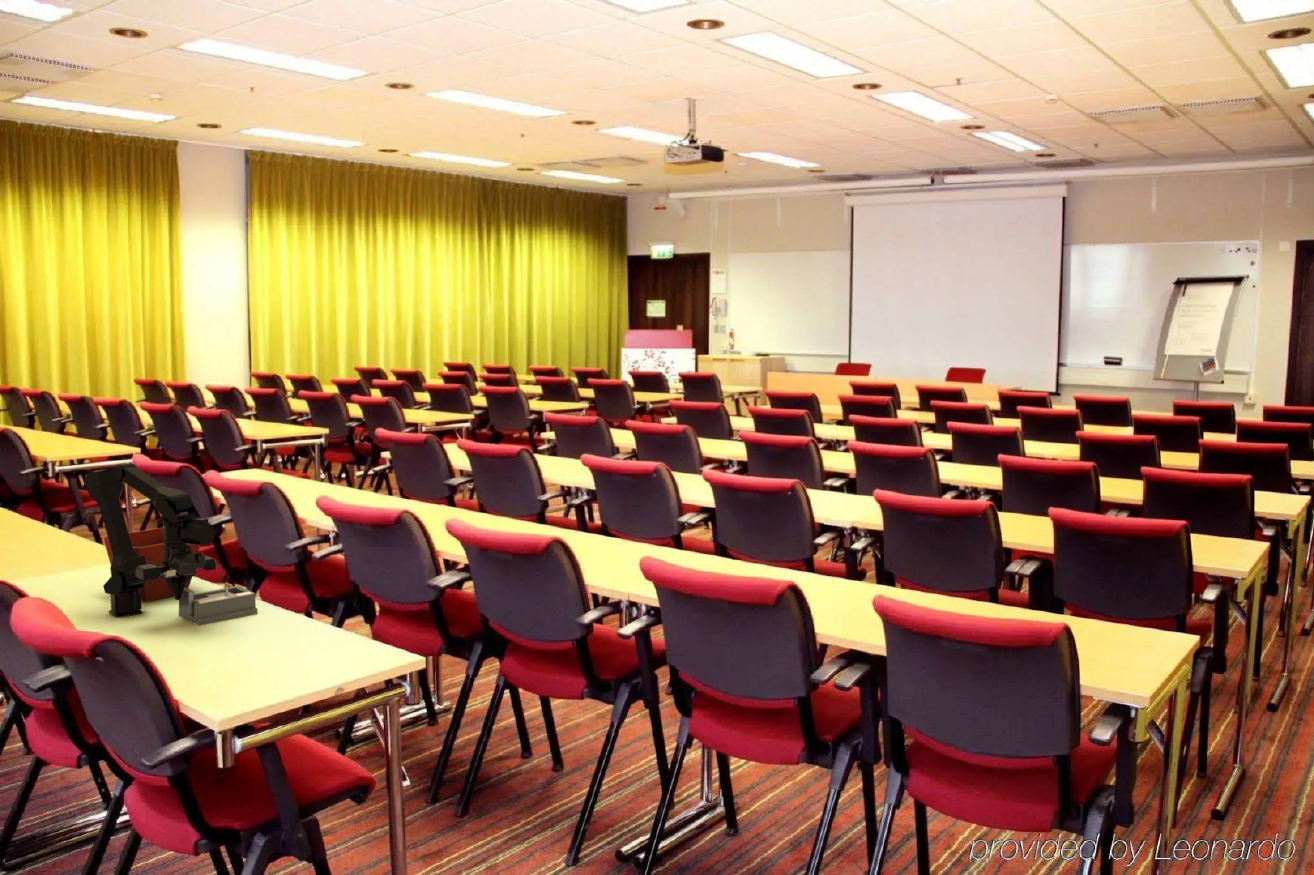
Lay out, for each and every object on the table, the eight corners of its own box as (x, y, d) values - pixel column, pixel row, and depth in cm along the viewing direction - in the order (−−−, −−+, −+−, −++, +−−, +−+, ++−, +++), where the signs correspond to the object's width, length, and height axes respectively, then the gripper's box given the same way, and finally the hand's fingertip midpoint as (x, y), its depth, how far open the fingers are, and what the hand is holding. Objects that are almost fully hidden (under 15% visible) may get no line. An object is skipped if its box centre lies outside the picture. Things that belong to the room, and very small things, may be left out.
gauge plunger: (193, 619, 269) (192, 592, 268) (178, 611, 275) (178, 585, 275) (242, 609, 279) (242, 583, 278) (227, 602, 285) (227, 576, 284)
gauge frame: (198, 625, 270) (197, 603, 269) (178, 615, 278) (178, 593, 277) (257, 613, 282) (257, 592, 281) (237, 604, 290) (236, 583, 289)
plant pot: (137, 607, 284) (135, 547, 282) (104, 594, 296) (102, 536, 294) (204, 593, 299) (202, 536, 297) (169, 581, 311) (168, 526, 309)
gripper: (151, 552, 257) (153, 613, 259) (225, 541, 271) (226, 600, 273) (133, 544, 265) (135, 604, 267) (206, 534, 279) (208, 591, 280)
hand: (177, 599), depth 271 cm, fingers closed
